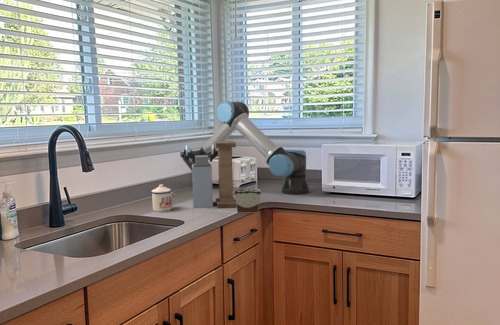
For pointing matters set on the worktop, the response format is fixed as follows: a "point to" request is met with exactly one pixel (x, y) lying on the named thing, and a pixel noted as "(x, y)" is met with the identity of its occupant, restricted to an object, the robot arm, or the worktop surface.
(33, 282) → the worktop surface
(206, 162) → the handle
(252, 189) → the food container
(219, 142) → the stand
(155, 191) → the teacup with lid
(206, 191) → the blue-grey tall block
